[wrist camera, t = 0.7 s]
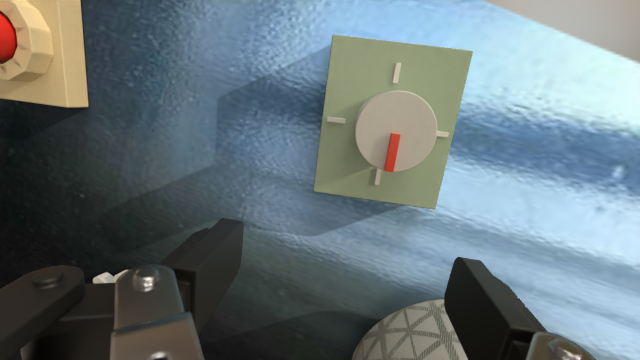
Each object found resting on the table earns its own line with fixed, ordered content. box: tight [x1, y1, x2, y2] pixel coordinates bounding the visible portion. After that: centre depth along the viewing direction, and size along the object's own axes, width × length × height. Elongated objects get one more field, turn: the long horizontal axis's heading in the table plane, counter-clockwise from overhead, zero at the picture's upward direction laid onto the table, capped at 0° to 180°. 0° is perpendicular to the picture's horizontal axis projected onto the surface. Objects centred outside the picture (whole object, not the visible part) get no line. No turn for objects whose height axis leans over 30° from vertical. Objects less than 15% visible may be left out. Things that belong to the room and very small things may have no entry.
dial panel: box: [313, 35, 473, 209], centre depth 24 cm, size 12×10×3 cm
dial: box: [354, 91, 437, 172], centre depth 21 cm, size 5×5×5 cm
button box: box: [0, 0, 88, 108], centre depth 25 cm, size 10×8×4 cm
